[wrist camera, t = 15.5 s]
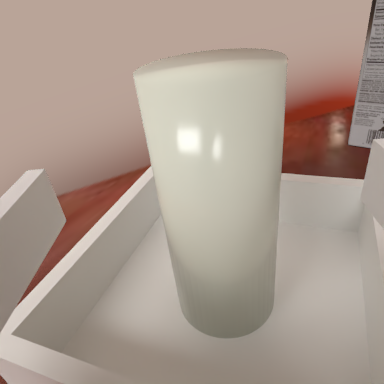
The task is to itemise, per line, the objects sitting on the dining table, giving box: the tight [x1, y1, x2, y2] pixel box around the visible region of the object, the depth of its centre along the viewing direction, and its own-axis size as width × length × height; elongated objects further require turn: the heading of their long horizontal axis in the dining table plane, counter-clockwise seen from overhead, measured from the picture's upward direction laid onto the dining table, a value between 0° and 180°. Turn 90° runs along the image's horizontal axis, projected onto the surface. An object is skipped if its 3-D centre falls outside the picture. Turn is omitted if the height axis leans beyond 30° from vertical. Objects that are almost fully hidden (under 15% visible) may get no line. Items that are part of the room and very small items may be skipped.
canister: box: [133, 48, 288, 339], centre depth 16 cm, size 6×6×14 cm
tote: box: [0, 166, 384, 384], centre depth 19 cm, size 18×18×5 cm
